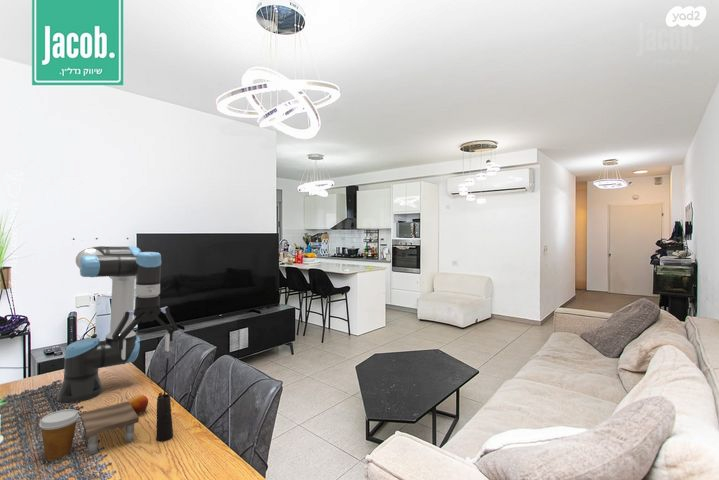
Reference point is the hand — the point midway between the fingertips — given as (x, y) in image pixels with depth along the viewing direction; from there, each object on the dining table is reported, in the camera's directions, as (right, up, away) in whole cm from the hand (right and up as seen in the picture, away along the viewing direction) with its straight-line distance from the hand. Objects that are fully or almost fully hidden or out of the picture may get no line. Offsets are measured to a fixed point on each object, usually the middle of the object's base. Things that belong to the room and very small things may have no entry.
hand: (146, 354), depth 125 cm
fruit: (-11, -27, +12) cm, 32 cm away
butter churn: (+8, -28, -4) cm, 29 cm away
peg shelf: (-9, -27, -6) cm, 29 cm away
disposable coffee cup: (-19, -27, -15) cm, 36 cm away
